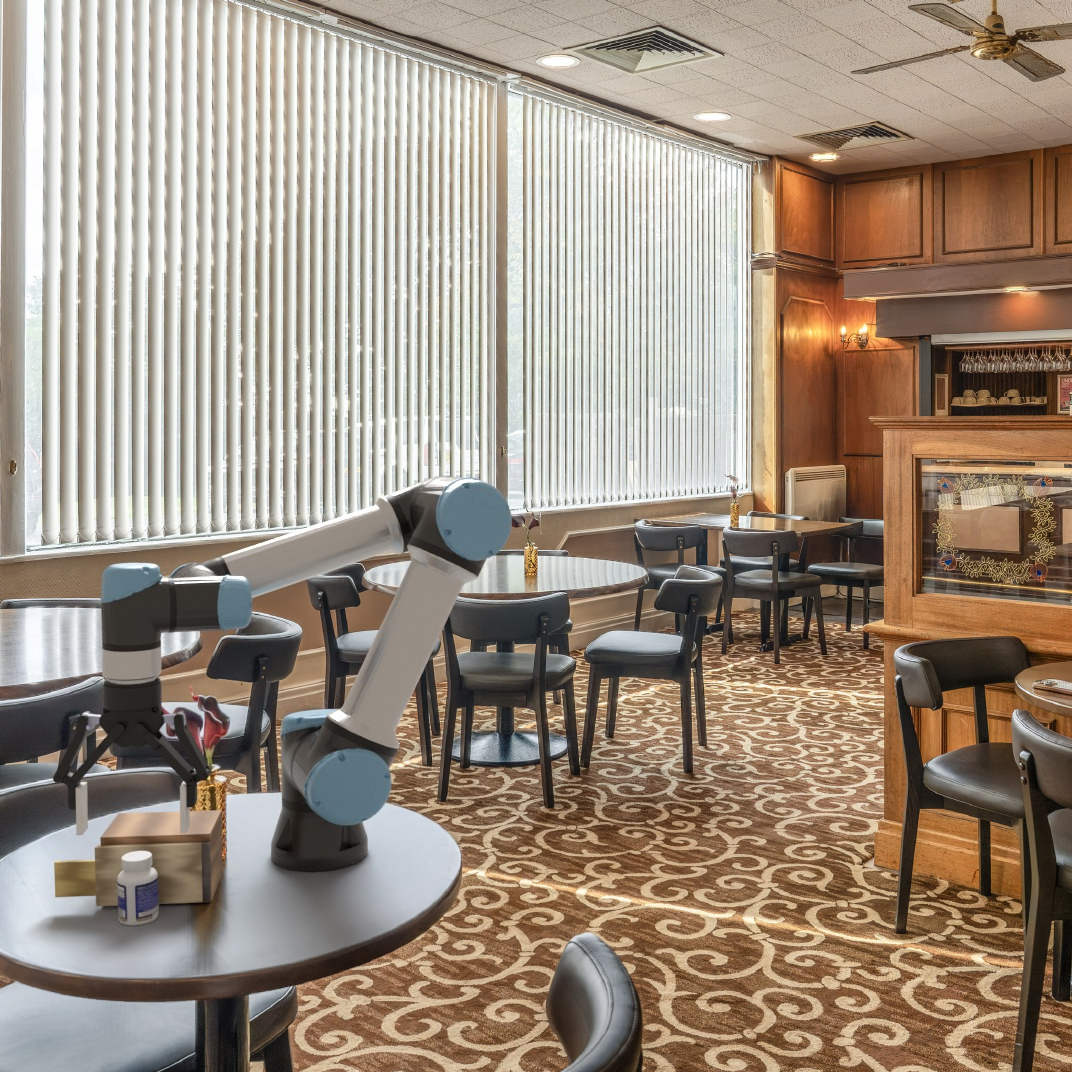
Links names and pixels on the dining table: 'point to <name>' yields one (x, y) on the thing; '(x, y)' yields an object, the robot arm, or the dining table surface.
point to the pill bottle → (137, 889)
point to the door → (176, 865)
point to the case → (170, 833)
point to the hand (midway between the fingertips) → (133, 831)
